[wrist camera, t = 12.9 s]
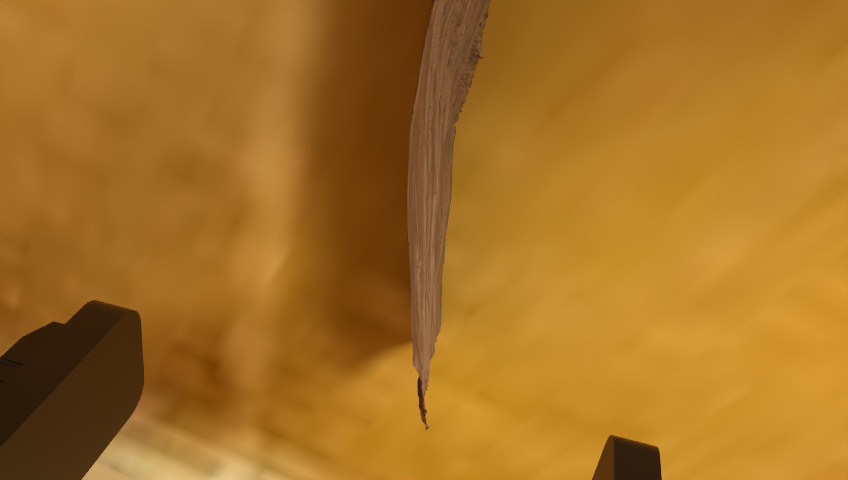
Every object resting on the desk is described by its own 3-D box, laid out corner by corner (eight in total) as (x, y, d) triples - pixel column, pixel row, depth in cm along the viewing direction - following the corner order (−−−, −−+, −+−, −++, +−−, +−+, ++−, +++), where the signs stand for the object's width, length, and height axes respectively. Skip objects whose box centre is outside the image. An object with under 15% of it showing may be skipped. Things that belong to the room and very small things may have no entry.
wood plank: (480, 336, 27) (459, 438, 22) (421, 325, 27) (389, 425, 23) (548, -167, 19) (536, -158, 15) (465, -175, 19) (428, -168, 15)
